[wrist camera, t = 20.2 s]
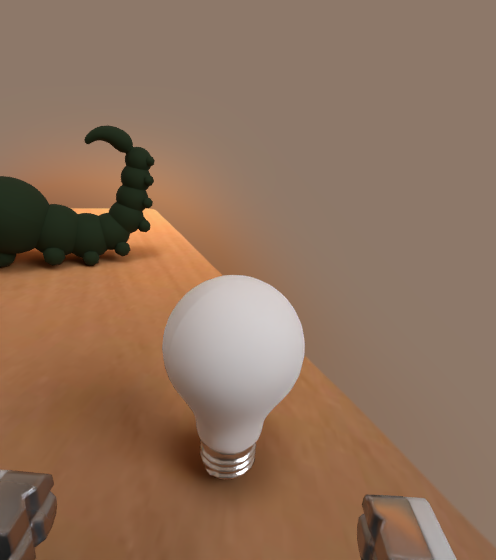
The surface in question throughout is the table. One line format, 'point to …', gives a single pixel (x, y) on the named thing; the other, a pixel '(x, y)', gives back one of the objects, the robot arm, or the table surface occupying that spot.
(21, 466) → the table surface
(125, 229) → the toy figurine
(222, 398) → the light bulb
